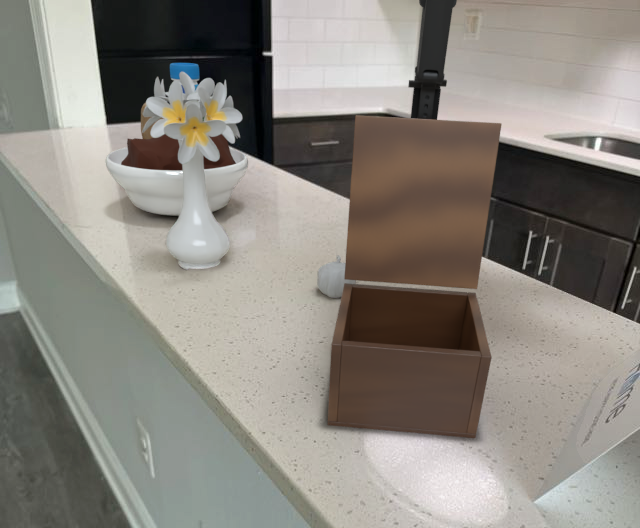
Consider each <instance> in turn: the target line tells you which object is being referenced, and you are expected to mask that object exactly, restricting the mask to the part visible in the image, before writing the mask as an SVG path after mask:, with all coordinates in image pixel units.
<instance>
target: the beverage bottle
mask: <svg viewBox="0 0 640 528" xmlns="http://www.w3.org/2000/svg"><path fill="white" fill-rule="evenodd" d="M180 72H185V73H186V74H187V75H188V76H189V77H190V78H191V79H192V81H193V83H194V85H195V90H196V89H197V87H198V85H199V83H198V81H200V67H199V64H198V63H191V62H172V63H170V64H169V75H170V80H172V81H179V82H180V84H181V86H182V83H181V81H180V77H179V74H180ZM182 91H183V93H184V94H185V90H184V88H183V86H182Z"/></svg>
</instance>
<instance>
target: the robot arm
mask: <svg viewBox="0 0 640 528" xmlns="http://www.w3.org/2000/svg"><path fill="white" fill-rule="evenodd" d="M457 1H458V0H418V3H419V5H420V7H422V10H421V18H420V30H419V39H418V48H417V49H418V51H417V58H416V66H414V79H409V80H408V88H409V89H410V88H411V89H412V88H413V92H412V102H411V111H410V118H414V119H433V120H438V115H439V109H440V101H441V100H440V99H441V92H442V89H441V87H443V88H446V87H447V83H448V80H447V79H445V75H446V74H445V65H446V57H447V51H448V43H449V37H450V29H451V22H452V15H453V10H454V9H453V8H455V7H456V5H457Z"/></svg>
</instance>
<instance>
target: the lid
mask: <svg viewBox="0 0 640 528" xmlns="http://www.w3.org/2000/svg"><path fill="white" fill-rule="evenodd" d="M501 130H502V123H501V122H488V121H487V122H486V121H467V120H452V119H451V120H449V119H437V120H433V119H414V118H411V117H394V116H393V117H392V116H376V115H359V114H358V115H357V114H356V115H355V117H354V131H353V145H352V160H351V176H350V188H349V189H350V191H349V204H348V205H349V207H348V218H347V235H346V250H345V262H344V263H345V277H344V279H345V280H356V281H359V282H360V281H361V282H373V283H374V282H375V283H386V284H387V283H388V284H402V285H414V286H415V285H416V286H428V287H429V286H430V287H441V288H442V287H443V288H454V289H455V288H457V289H470V290H477V289H478V287H479V286H478V285H479V280H480V272H481V266H482V258H483V253H484V245H485V240H486V239H485V238H486V233H487V225H488V219H489V212H490V205H491V199H492V198H491V197H492V191H493V184H494V178H495V171H496V163H497V158H498V151H499V144H500V138H501Z"/></svg>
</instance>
